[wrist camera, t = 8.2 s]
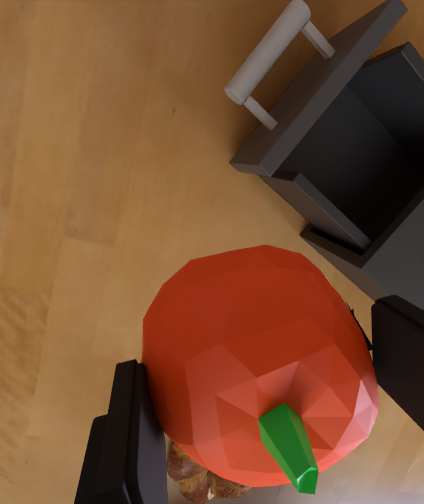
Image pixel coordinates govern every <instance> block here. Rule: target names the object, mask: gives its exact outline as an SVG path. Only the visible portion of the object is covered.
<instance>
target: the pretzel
mask: <svg viewBox="0 0 424 504" xmlns="http://www.w3.org/2000/svg"><path fill="white" fill-rule="evenodd" d="M166 465H167V471H168V474H169V475H170V477H171V478H172V479H173V480H174V481H175V482H179V484H181V491H180V492H181V494H183V495H184V497H185V498H187V499H188V500H190V501H192V502H194V503H205V502H207V501H209V500H211V499H212V498H213V497H214V496H215V495H216V496H217V497H218V498H220V499H221V498H230V499H232V498H236V497H240V496H241V495H243V494H245V493H246V492H247V491H248V490H249V489H250V488H251V487H250V486H244V485H242V484H239V483H236V482H233V481H230V480H227V479H224V478H222V477H220V476H218V475H217V474H215V473H213V472H211V471H210V470H208V469H206V468H205V467H203V466H201V465H200V464H198V463H196V462H195V461H193V460H192V459H191V458H190V457H189V456H188V455H187V454H186V453H185V452H184V451H183V450H182V449H181V448H180V447H179V446H178V445H177V444H175V443H174V444H173V445H172V447H171V448H170V450H169V453H168V457H167V463H166Z"/></svg>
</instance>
